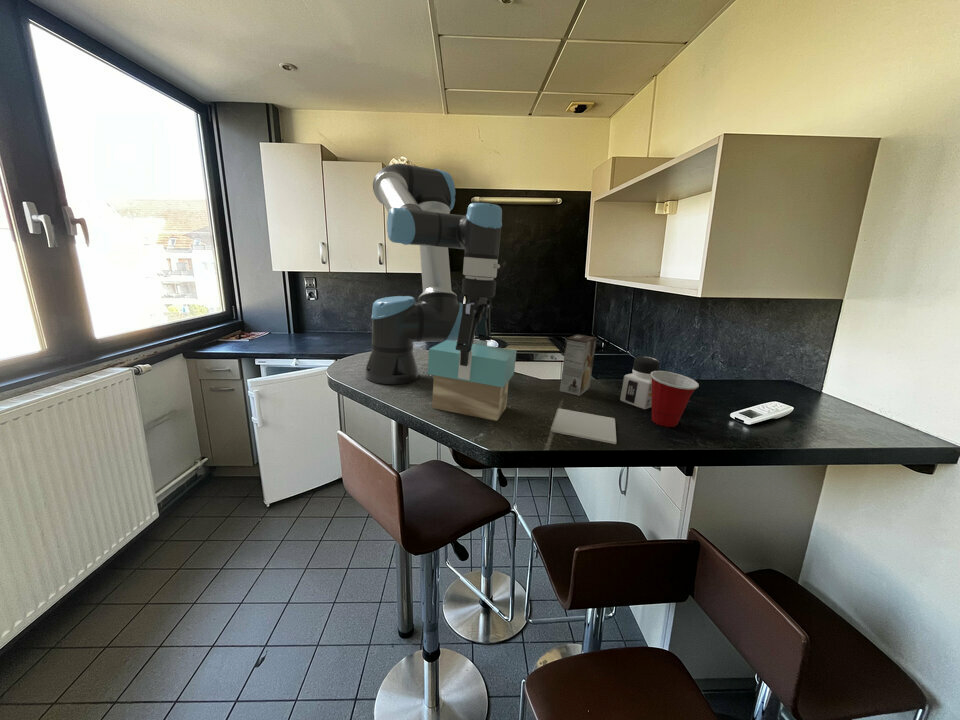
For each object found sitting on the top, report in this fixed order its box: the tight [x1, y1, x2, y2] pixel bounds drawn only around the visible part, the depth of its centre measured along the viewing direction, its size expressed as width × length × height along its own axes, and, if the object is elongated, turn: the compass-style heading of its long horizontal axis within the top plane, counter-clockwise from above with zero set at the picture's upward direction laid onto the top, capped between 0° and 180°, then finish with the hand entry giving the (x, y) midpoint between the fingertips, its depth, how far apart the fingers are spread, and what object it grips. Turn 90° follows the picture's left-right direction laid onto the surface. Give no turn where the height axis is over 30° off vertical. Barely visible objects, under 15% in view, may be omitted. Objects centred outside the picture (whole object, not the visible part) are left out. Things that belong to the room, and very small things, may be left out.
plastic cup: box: [650, 370, 700, 428], centre depth 96 cm, size 11×11×12 cm
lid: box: [427, 340, 517, 387], centre depth 93 cm, size 11×18×6 cm, turn 73°
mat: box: [549, 407, 617, 445], centre depth 93 cm, size 14×22×1 cm, turn 73°
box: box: [431, 375, 510, 422], centre depth 95 cm, size 9×16×11 cm, turn 73°
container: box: [619, 356, 661, 410], centre depth 109 cm, size 8×8×13 cm
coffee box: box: [559, 334, 598, 397], centre depth 116 cm, size 9×6×16 cm
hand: (472, 371), depth 94 cm, fingers closed on lid, 11 cm apart
